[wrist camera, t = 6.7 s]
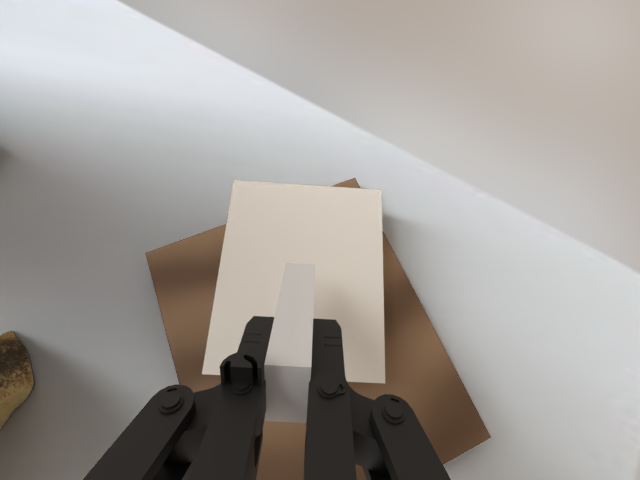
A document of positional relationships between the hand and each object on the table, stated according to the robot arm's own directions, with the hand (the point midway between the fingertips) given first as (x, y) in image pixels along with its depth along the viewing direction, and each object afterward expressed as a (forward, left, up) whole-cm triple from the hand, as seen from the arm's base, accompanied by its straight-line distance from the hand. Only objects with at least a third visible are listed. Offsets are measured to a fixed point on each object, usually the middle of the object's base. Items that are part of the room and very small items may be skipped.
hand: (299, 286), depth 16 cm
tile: (+4, -2, -4) cm, 6 cm away
